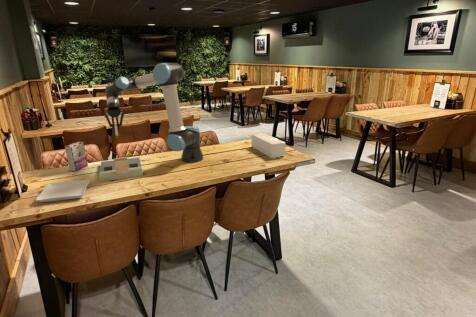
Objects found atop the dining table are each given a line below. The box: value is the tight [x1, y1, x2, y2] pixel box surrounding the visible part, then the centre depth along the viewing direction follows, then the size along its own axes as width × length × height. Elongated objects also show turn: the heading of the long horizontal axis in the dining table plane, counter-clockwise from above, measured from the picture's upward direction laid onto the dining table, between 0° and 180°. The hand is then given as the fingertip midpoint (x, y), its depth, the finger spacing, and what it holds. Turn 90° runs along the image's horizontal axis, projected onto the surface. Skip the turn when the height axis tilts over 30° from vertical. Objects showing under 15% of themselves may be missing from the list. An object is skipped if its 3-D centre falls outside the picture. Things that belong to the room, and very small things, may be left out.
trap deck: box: [98, 157, 144, 182], centre depth 187 cm, size 30×24×2 cm
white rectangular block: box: [250, 132, 286, 159], centre depth 222 cm, size 32×11×11 cm, turn 24°
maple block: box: [113, 156, 129, 175], centre depth 176 cm, size 7×7×8 cm
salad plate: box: [35, 179, 91, 203], centre depth 155 cm, size 21×21×3 cm
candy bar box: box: [64, 141, 88, 172], centre depth 189 cm, size 11×5×16 cm, turn 168°
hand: (116, 134), depth 189 cm, fingers closed
